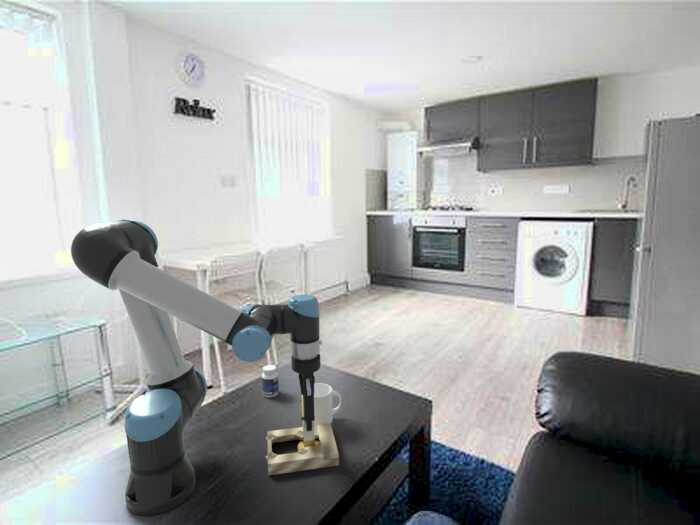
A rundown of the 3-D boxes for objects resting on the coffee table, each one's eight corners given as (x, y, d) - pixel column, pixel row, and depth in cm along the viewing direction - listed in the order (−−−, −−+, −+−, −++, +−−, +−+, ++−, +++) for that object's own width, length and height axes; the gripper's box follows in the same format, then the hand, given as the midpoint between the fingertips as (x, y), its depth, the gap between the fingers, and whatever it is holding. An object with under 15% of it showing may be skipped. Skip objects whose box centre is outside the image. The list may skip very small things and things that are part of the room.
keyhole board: (266, 475, 101) (265, 464, 100) (266, 441, 114) (265, 431, 114) (338, 465, 105) (338, 454, 104) (330, 433, 118) (330, 423, 117)
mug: (347, 423, 123) (346, 390, 121) (310, 433, 118) (309, 399, 116) (336, 409, 131) (335, 378, 129) (301, 418, 126) (300, 386, 124)
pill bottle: (277, 398, 138) (276, 371, 136) (260, 398, 138) (259, 371, 136) (280, 389, 143) (279, 363, 142) (264, 389, 144) (263, 363, 142)
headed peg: (298, 458, 106) (296, 401, 103) (297, 443, 112) (294, 390, 109) (322, 454, 107) (320, 399, 104) (319, 440, 113) (317, 387, 110)
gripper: (324, 366, 98) (326, 452, 102) (316, 341, 113) (318, 417, 117) (293, 369, 96) (296, 456, 100) (289, 343, 111) (292, 420, 116)
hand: (308, 435), depth 109 cm, fingers closed on headed peg, 3 cm apart
